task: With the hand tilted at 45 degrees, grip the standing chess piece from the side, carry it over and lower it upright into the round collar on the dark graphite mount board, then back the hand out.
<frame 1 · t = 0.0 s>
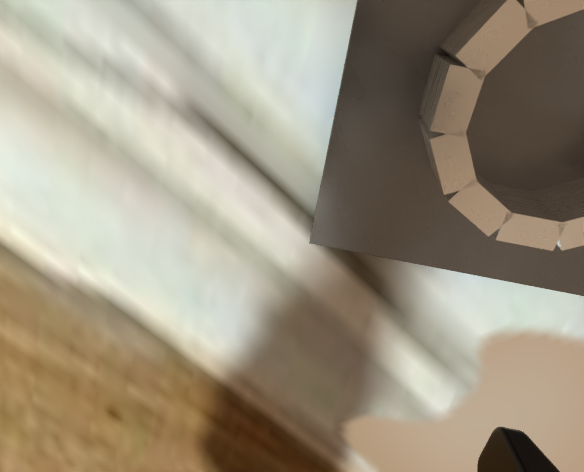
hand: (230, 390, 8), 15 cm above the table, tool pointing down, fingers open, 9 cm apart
lens mount: (536, 100, 19), on the table
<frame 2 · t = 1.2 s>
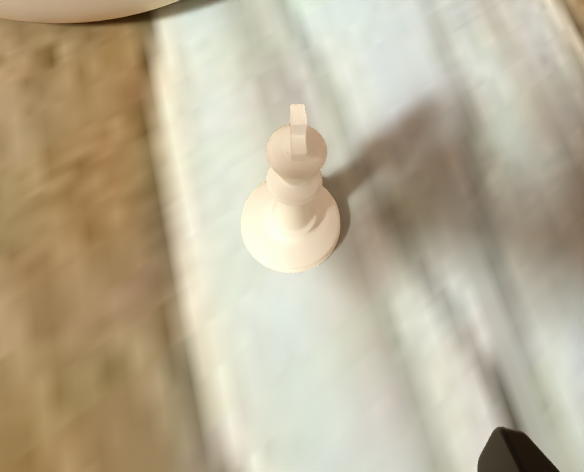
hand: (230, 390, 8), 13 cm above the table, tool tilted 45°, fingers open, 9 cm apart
chess piece: (290, 225, 23), on the table
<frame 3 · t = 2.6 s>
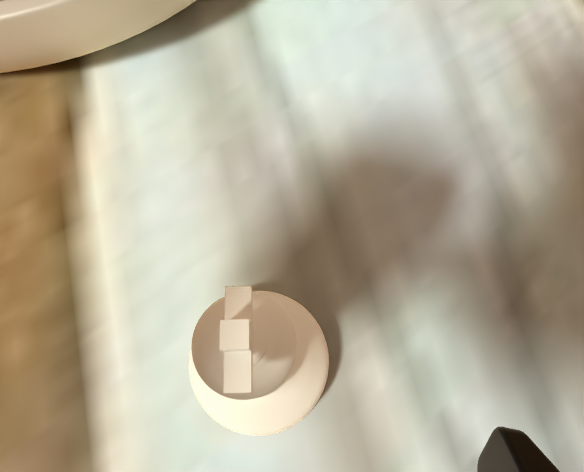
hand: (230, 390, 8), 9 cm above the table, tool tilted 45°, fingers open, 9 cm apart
chess piece: (259, 360, 17), on the table
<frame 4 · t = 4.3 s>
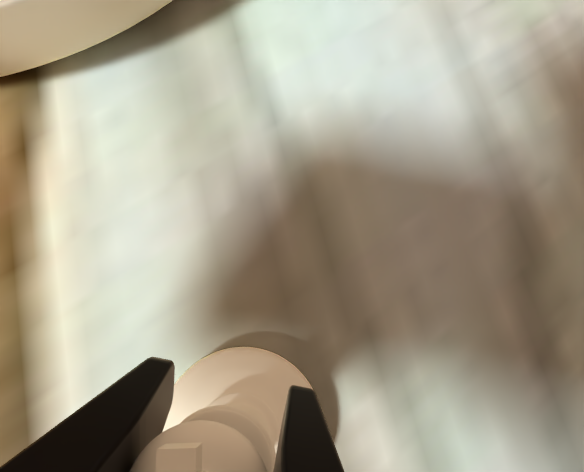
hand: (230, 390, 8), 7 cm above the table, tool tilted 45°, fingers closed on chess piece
chess piece: (242, 430, 14), on the table, touching gripper
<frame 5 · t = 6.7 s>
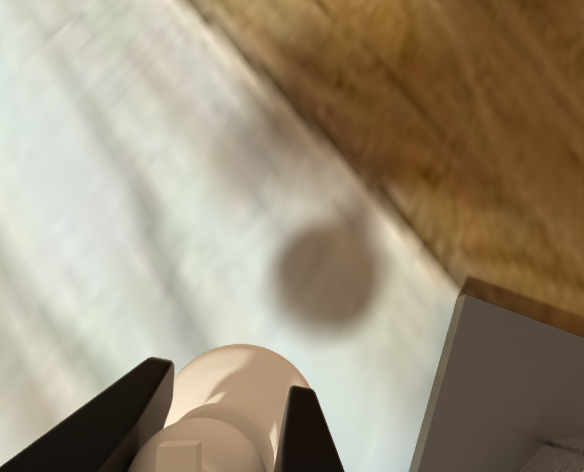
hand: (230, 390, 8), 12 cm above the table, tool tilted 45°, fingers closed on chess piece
chess piece: (238, 427, 14), point 5 cm above the table, touching gripper
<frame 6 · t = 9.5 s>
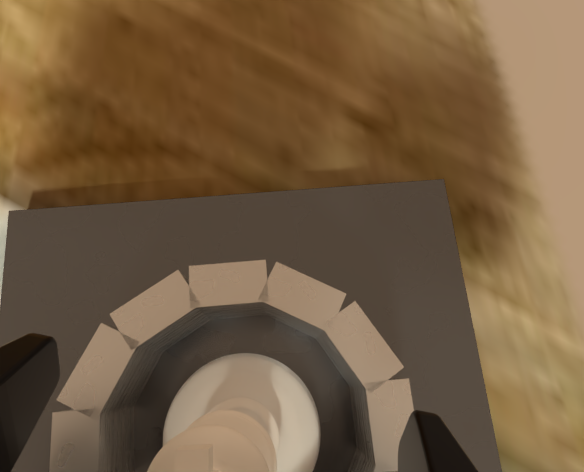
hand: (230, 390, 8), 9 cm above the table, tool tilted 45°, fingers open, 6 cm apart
chess piece: (243, 432, 15), point 1 cm above the table, touching lens mount
lens mount: (246, 423, 16), on the table
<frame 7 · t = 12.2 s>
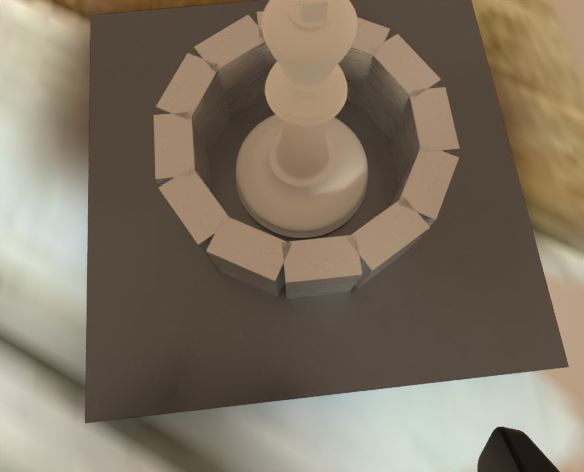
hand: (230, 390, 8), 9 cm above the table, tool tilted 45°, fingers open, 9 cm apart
chess piece: (301, 177, 17), point 1 cm above the table, touching lens mount
lens mount: (302, 181, 18), on the table
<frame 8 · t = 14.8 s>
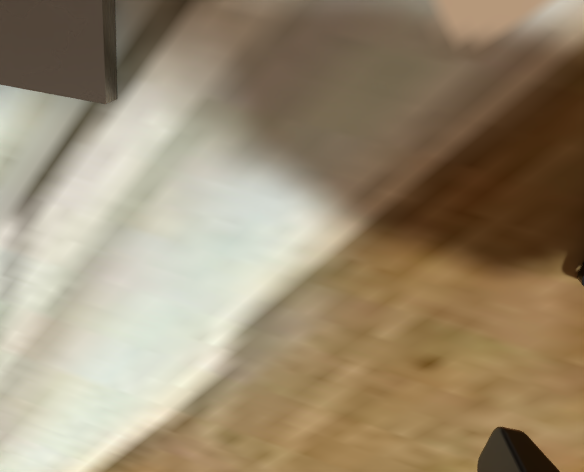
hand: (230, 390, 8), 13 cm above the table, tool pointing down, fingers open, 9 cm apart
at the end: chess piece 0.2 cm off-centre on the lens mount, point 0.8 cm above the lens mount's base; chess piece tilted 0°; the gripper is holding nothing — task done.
